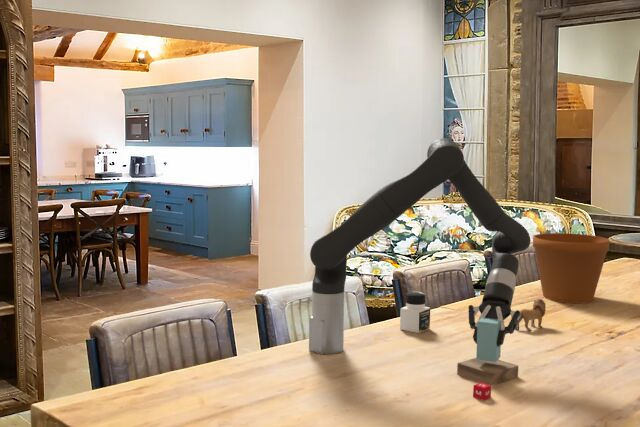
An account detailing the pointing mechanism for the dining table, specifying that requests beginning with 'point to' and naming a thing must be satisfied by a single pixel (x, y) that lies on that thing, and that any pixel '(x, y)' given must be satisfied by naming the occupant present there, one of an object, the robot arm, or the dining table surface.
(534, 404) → the dining table surface
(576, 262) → the flowerpot
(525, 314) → the lion figurine
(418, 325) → the medicine bottle
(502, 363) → the walnut base plate
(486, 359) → the teal pillar block
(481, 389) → the dice
